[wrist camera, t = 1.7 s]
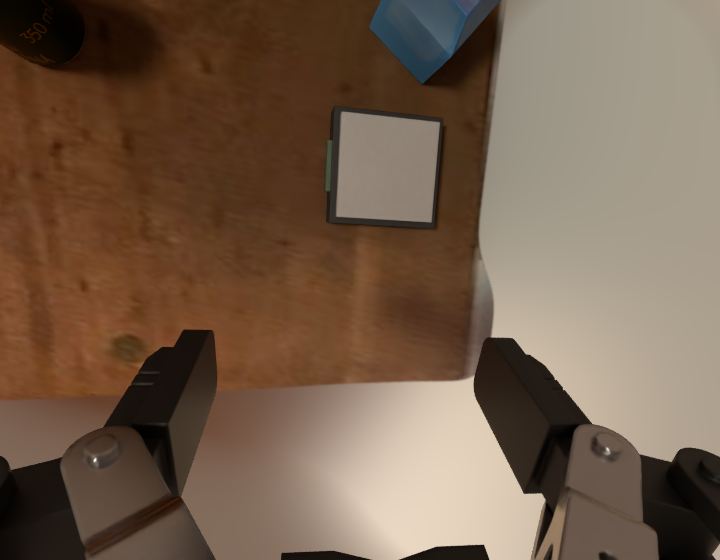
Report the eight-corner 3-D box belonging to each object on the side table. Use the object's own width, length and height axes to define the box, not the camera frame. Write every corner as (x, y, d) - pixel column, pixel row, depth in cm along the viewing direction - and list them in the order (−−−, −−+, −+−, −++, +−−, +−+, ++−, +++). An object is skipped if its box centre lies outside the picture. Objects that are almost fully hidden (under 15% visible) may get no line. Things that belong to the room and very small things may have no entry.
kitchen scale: (326, 112, 33) (330, 103, 31) (433, 123, 35) (446, 116, 32) (322, 221, 35) (325, 222, 32) (425, 227, 36) (436, 228, 34)
